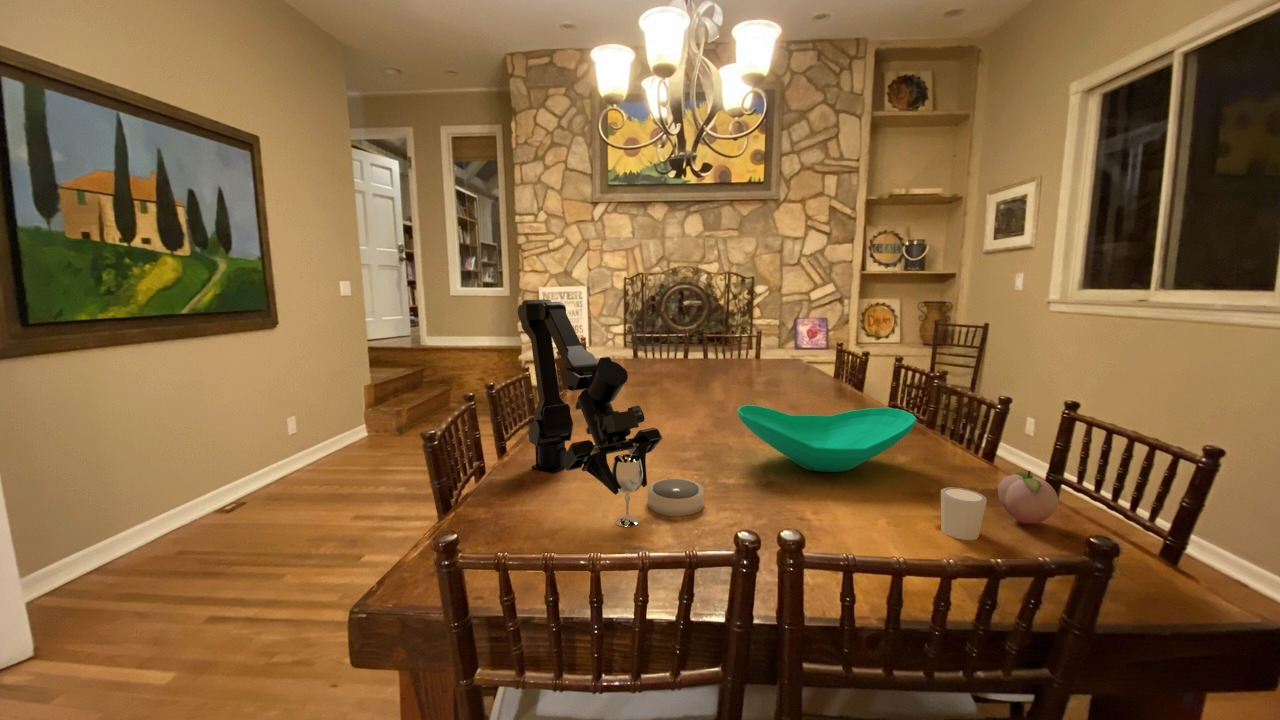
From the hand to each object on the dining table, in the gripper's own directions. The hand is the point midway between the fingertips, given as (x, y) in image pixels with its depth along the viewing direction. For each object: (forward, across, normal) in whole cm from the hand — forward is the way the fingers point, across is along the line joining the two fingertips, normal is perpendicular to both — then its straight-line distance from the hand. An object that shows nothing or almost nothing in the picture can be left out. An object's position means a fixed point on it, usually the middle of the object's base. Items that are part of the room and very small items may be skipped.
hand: (631, 489), depth 94 cm
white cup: (+29, +46, -20) cm, 58 cm away
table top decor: (+5, +53, +4) cm, 53 cm away
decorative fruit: (+33, +59, -23) cm, 72 cm away
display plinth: (+3, +12, +6) cm, 14 cm away
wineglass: (+4, 0, +6) cm, 7 cm away
